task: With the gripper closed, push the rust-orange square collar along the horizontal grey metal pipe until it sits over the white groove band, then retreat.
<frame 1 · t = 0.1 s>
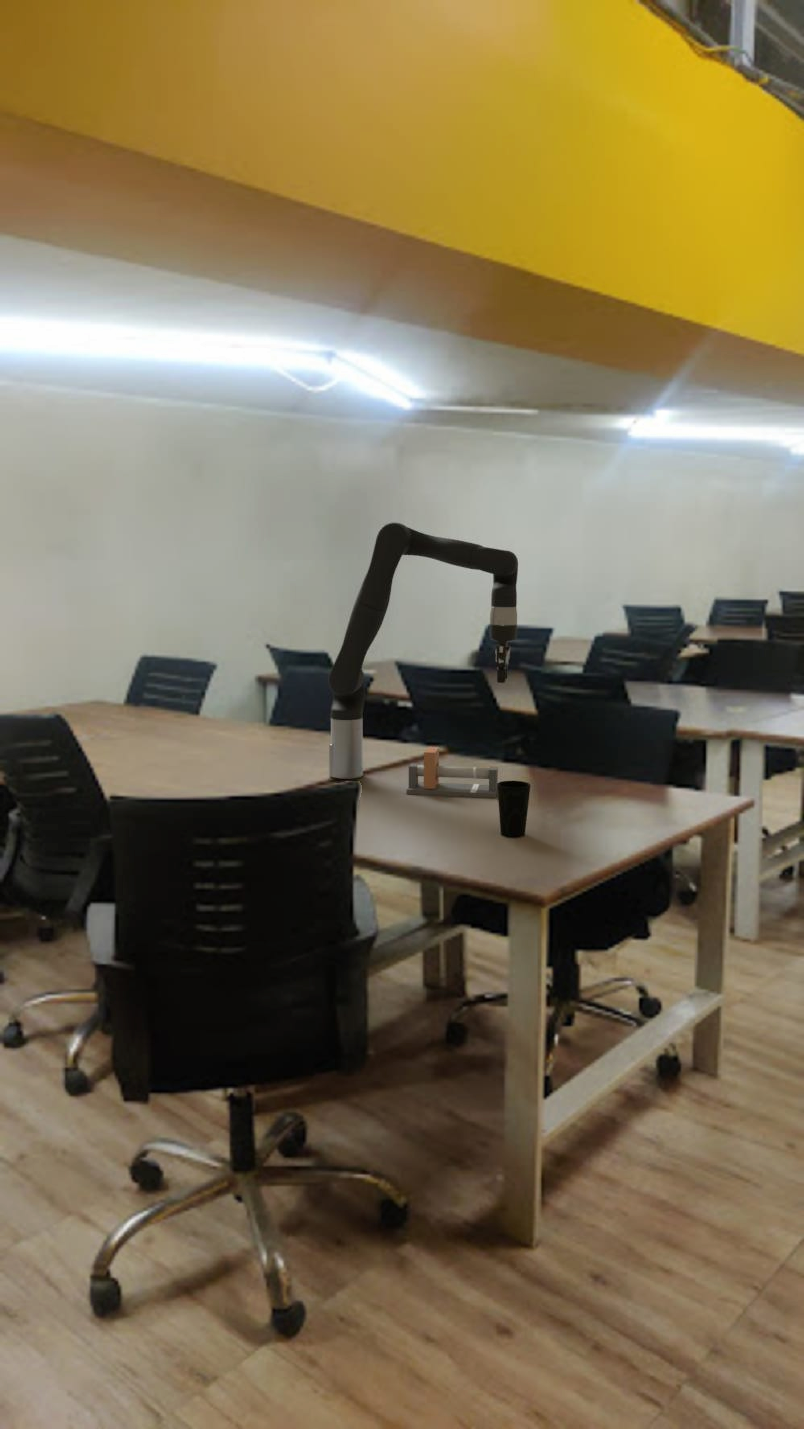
hand: (502, 680, 288), 29 cm above the table, fingers open, 8 cm apart
collar: (431, 767, 281), point 6 cm above the table, slide at -6.0 cm
cup: (512, 835, 239), on the table
pipe rail: (452, 791, 281), on the table
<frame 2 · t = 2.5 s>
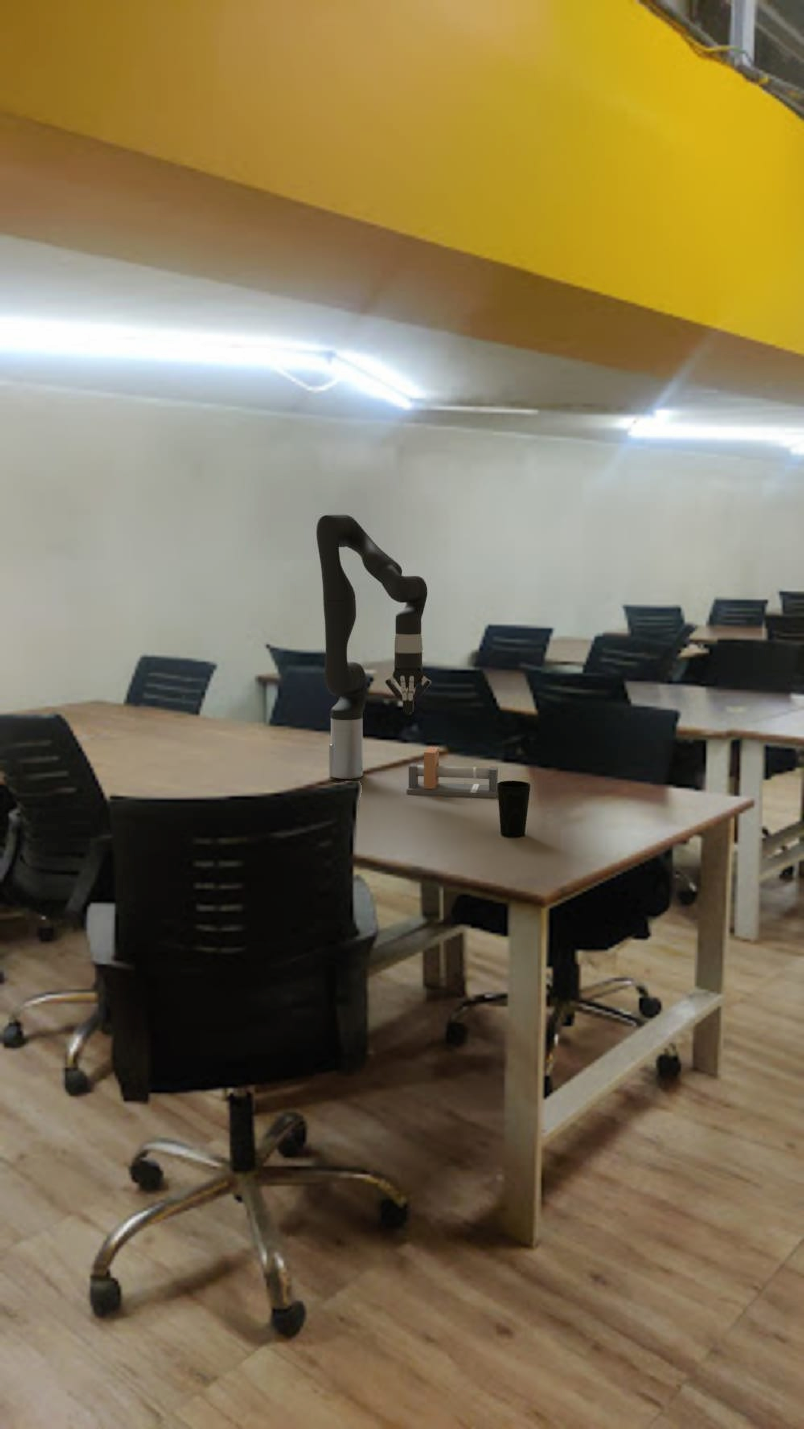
hand: (408, 713, 279), 21 cm above the table, fingers closed
nothing on the table moved.
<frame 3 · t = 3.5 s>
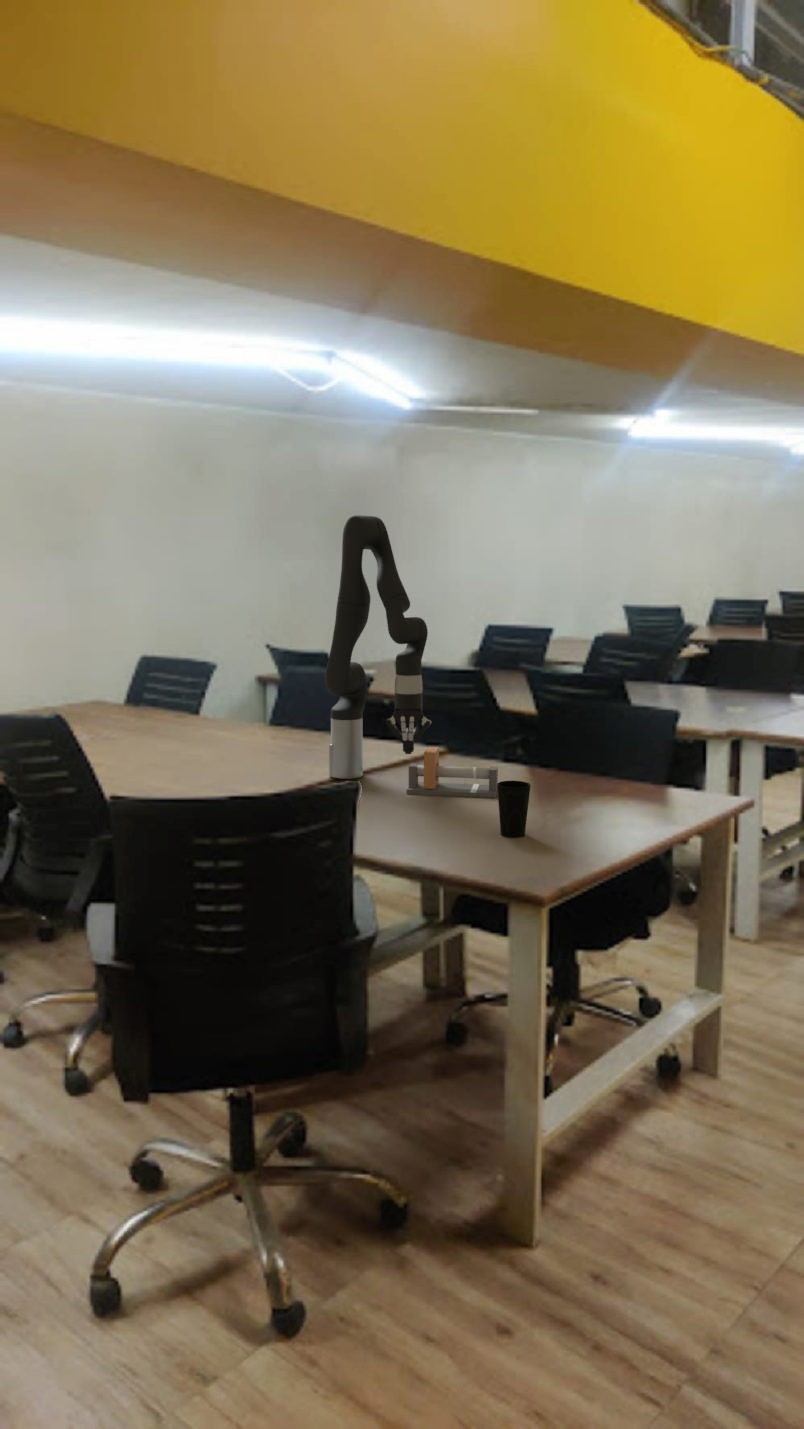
hand: (408, 753, 281), 10 cm above the table, fingers closed
nothing on the table moved.
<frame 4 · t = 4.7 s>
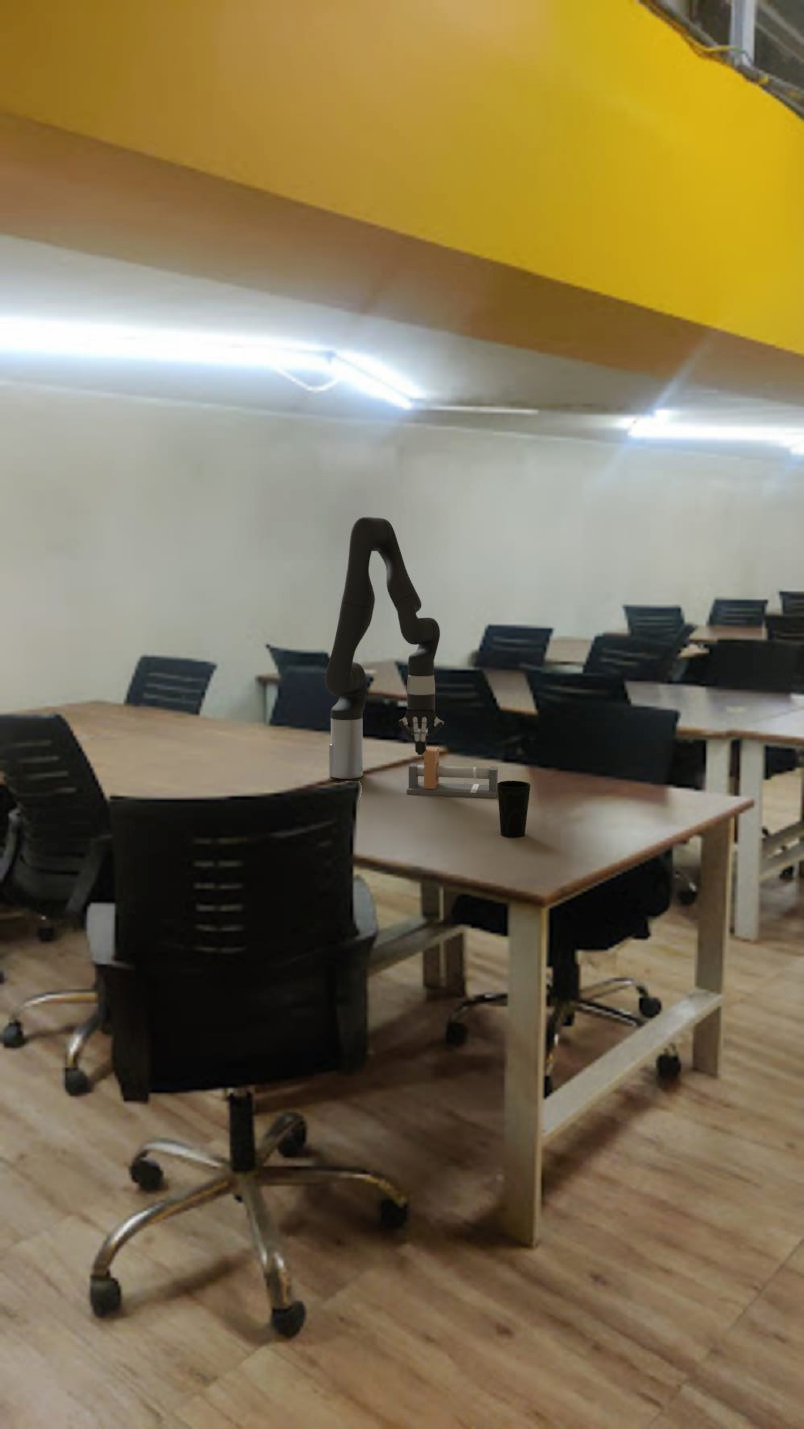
hand: (420, 754, 280), 10 cm above the table, fingers closed
collar: (431, 767, 281), point 6 cm above the table, slide at -5.9 cm, touching gripper
everything else where it was.
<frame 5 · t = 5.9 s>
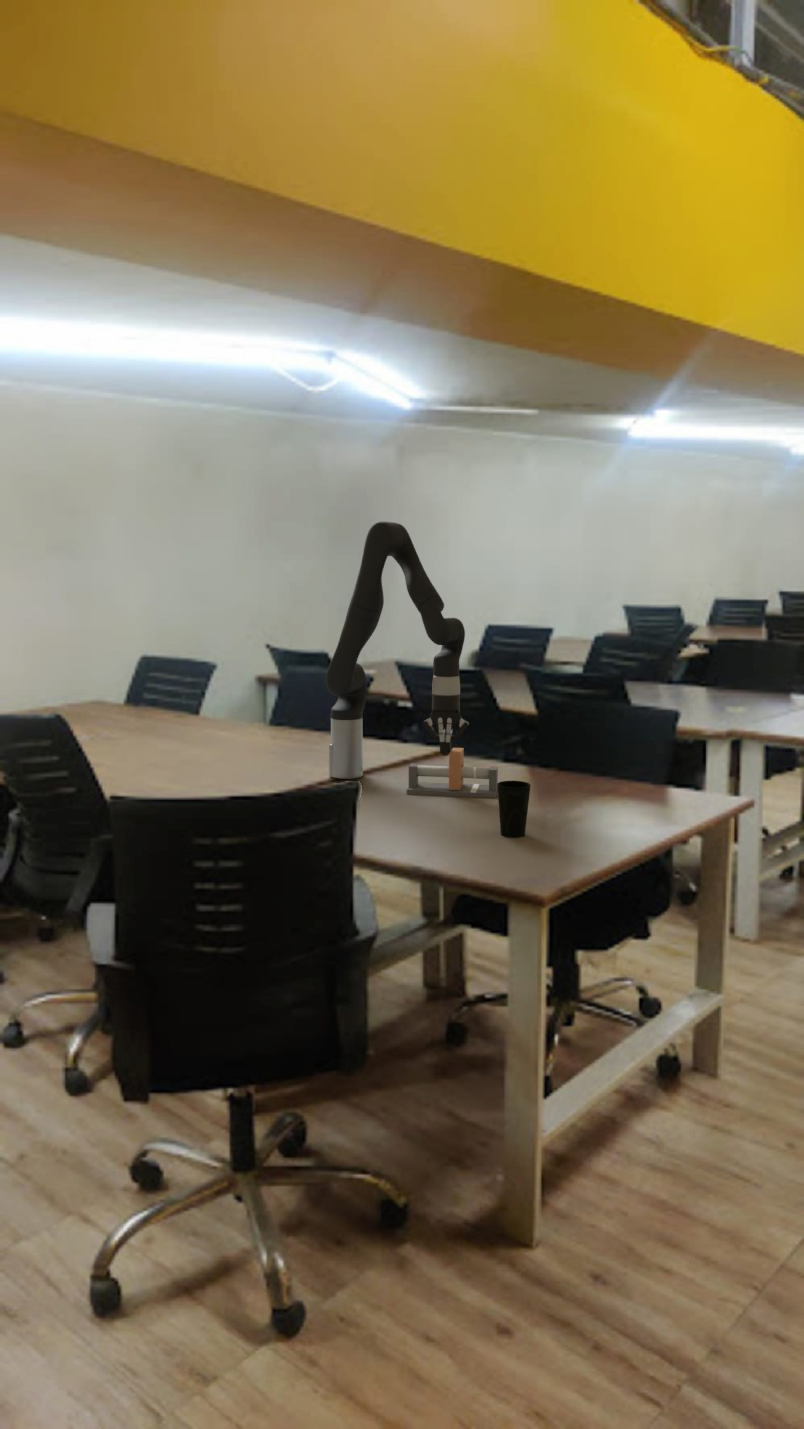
hand: (445, 755, 279), 10 cm above the table, fingers closed
collar: (456, 768, 279), point 7 cm above the table, slide at 0.9 cm, touching gripper
everything else where it was.
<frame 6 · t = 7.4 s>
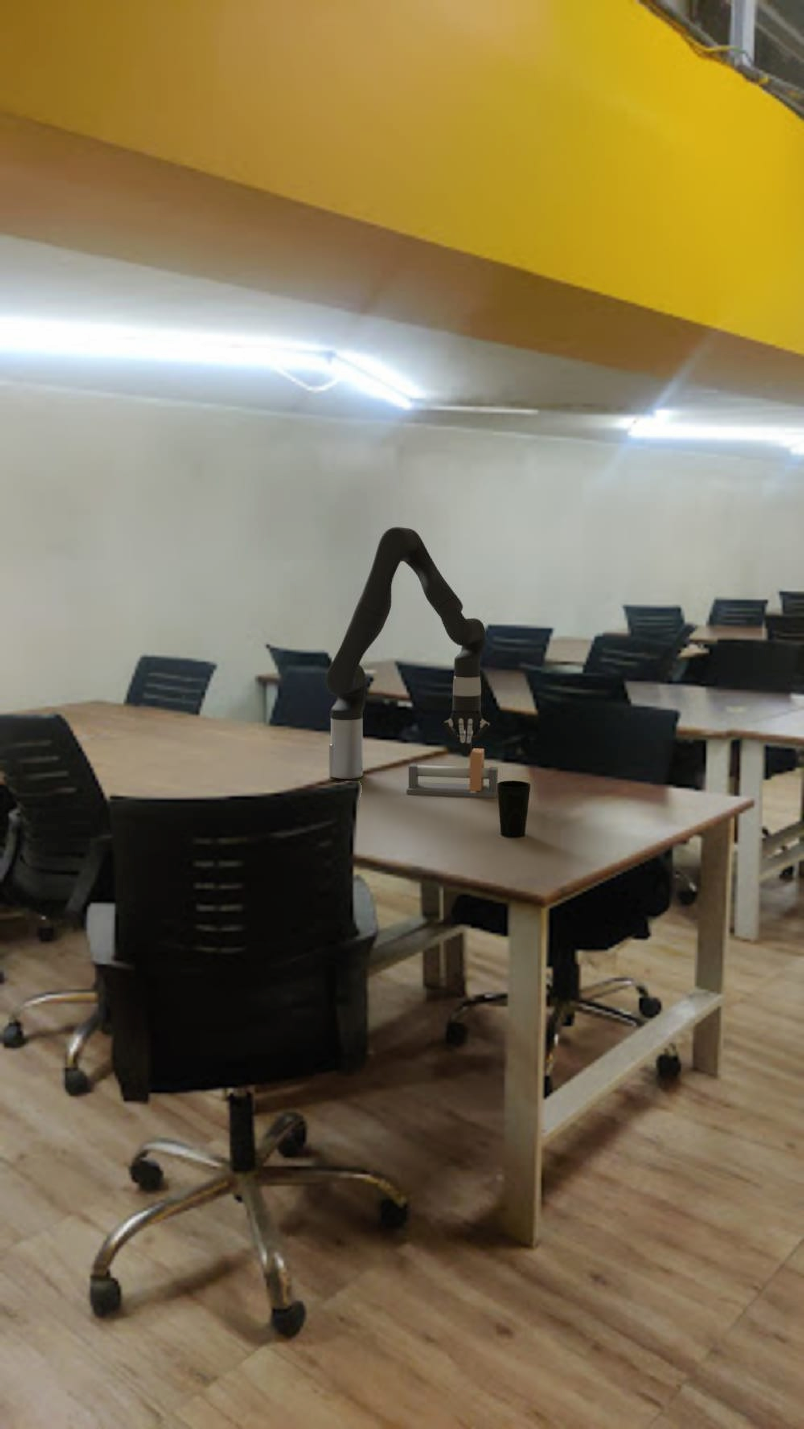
hand: (466, 756, 278), 10 cm above the table, fingers closed
collar: (477, 769, 278), point 6 cm above the table, slide at 6.5 cm, touching gripper
everything else where it was.
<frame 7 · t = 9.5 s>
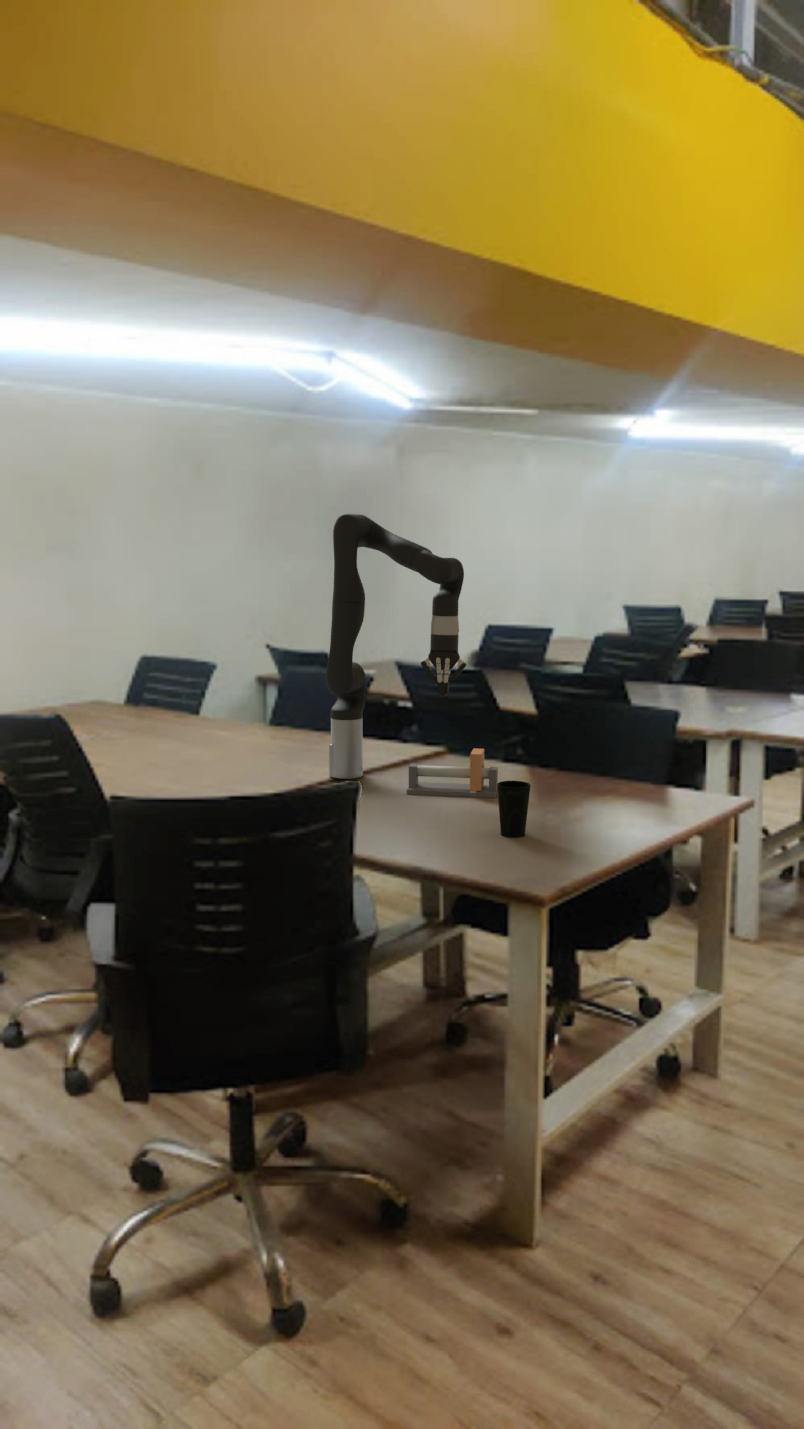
hand: (442, 695, 279), 26 cm above the table, fingers closed
collar: (477, 769, 278), point 6 cm above the table, slide at 6.5 cm
everything else where it was.
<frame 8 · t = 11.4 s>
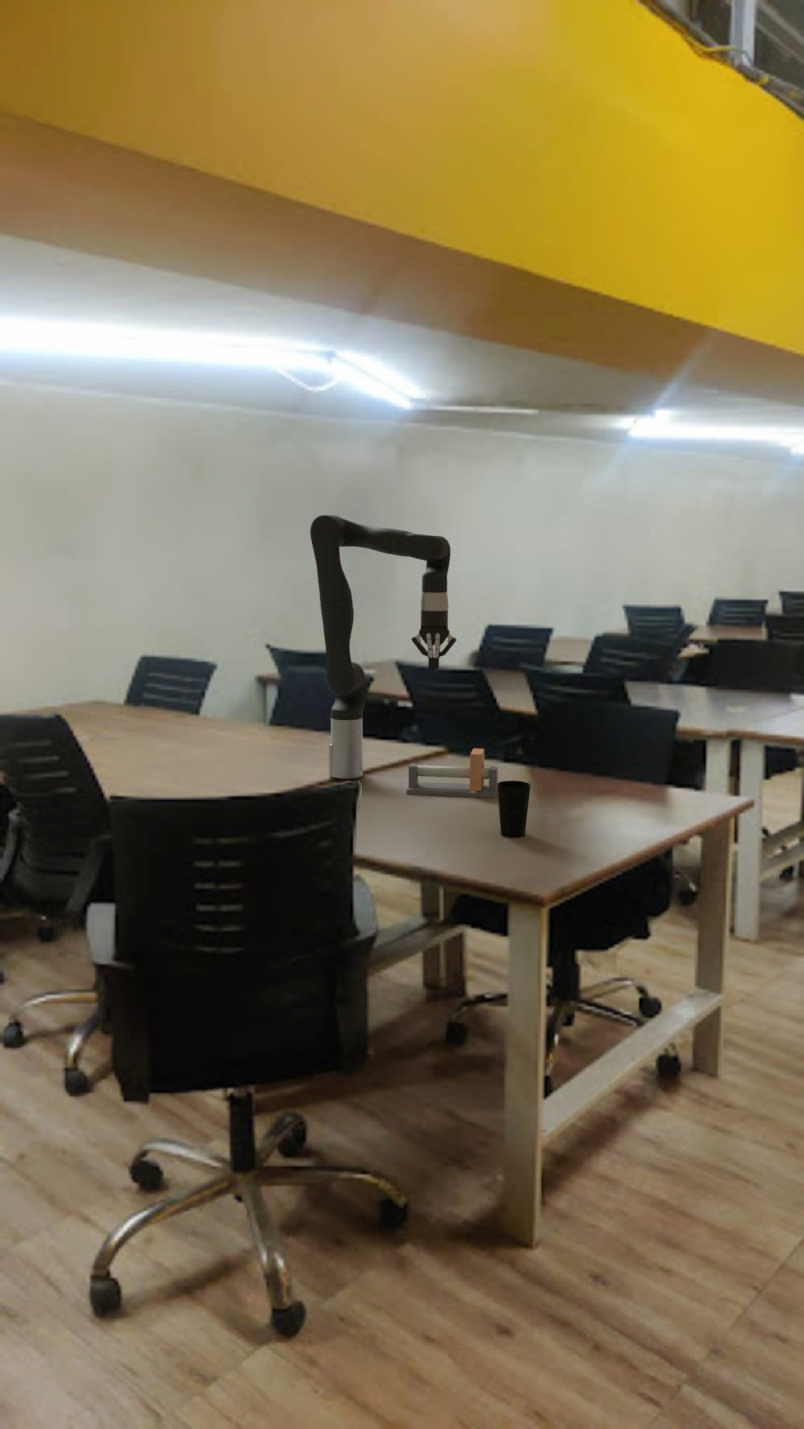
hand: (433, 670, 286), 32 cm above the table, fingers closed
nothing on the table moved.
at the end: collar slide at 6.5 cm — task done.
